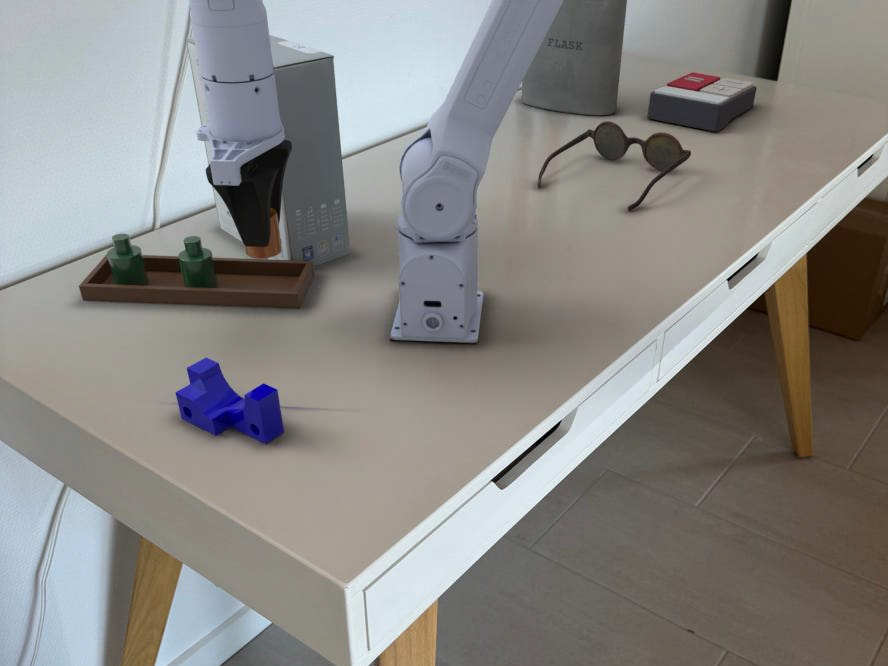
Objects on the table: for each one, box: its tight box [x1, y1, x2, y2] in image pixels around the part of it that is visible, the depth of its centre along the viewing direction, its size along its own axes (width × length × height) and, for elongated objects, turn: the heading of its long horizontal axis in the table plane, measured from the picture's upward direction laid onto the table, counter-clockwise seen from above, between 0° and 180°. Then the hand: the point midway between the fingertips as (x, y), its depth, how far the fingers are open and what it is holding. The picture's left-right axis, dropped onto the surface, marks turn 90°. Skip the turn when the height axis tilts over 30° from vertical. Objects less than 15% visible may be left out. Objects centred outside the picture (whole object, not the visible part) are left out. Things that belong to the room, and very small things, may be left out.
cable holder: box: [174, 357, 285, 445], centre depth 71 cm, size 8×4×4 cm, turn 55°
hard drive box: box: [185, 34, 351, 267], centre depth 93 cm, size 16×8×20 cm, turn 42°
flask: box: [521, 0, 628, 117], centre depth 131 cm, size 15×6×20 cm, turn 65°
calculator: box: [646, 72, 757, 132], centre depth 135 cm, size 11×4×15 cm
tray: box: [78, 254, 315, 310], centre depth 90 cm, size 7×21×2 cm, turn 86°
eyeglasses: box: [537, 120, 692, 212], centre depth 112 cm, size 15×15×5 cm
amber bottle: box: [244, 208, 282, 259], centre depth 80 cm, size 3×3×5 cm
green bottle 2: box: [177, 235, 218, 288], centre depth 88 cm, size 3×3×5 cm
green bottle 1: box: [106, 233, 149, 286], centre depth 89 cm, size 3×3×5 cm
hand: (262, 235), depth 80 cm, fingers closed on amber bottle, 3 cm apart
